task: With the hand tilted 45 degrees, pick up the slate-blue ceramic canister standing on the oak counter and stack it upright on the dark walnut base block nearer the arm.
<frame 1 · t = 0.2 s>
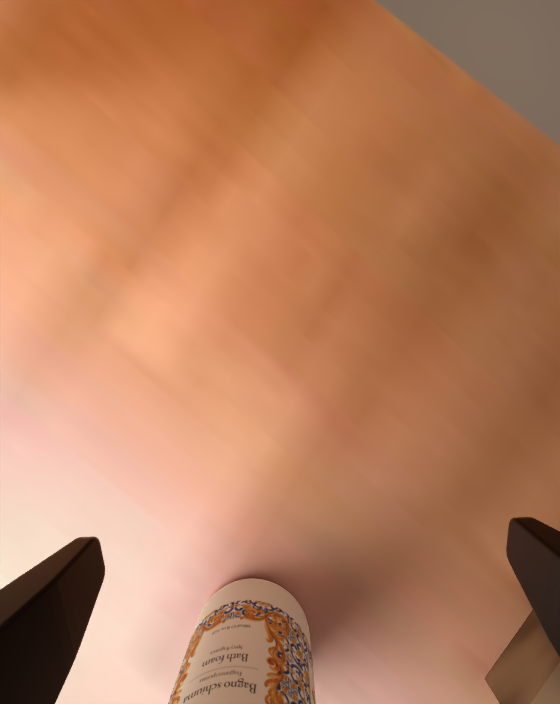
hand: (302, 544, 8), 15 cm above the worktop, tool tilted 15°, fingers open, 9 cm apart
bath foam: (253, 628, 24), on the worktop
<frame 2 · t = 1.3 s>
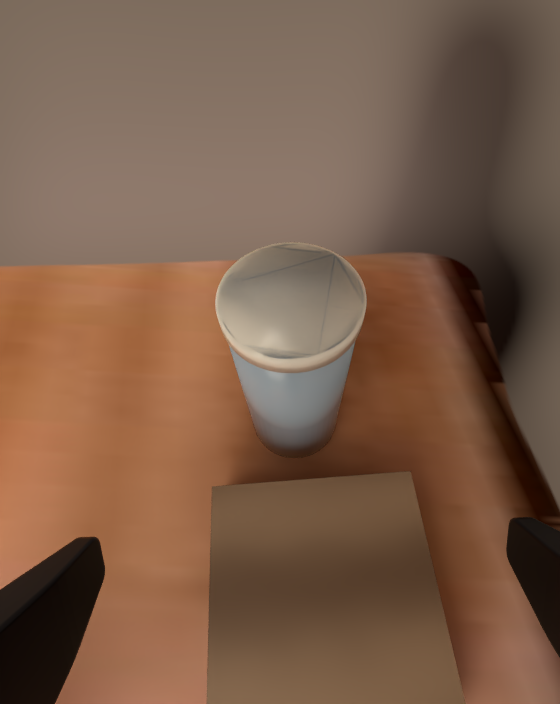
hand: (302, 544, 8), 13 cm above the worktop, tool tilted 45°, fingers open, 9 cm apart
canister: (294, 416, 24), on the worktop
base block: (320, 594, 19), on the worktop
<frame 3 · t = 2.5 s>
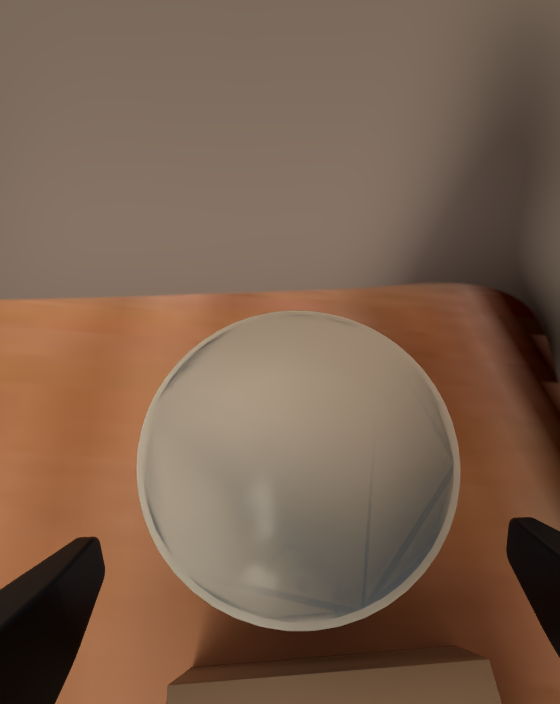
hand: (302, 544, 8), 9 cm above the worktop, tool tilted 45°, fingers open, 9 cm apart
canister: (298, 527, 17), on the worktop
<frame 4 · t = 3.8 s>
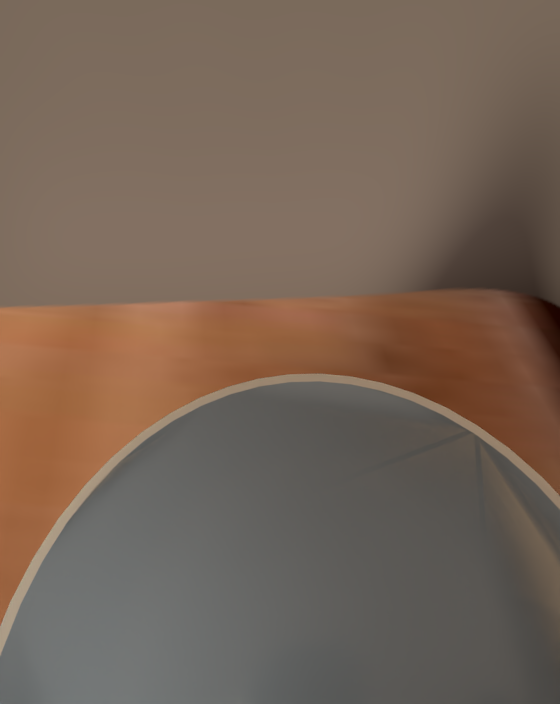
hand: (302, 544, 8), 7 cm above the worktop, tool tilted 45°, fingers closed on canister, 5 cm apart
canister: (304, 603, 13), on the worktop, touching gripper
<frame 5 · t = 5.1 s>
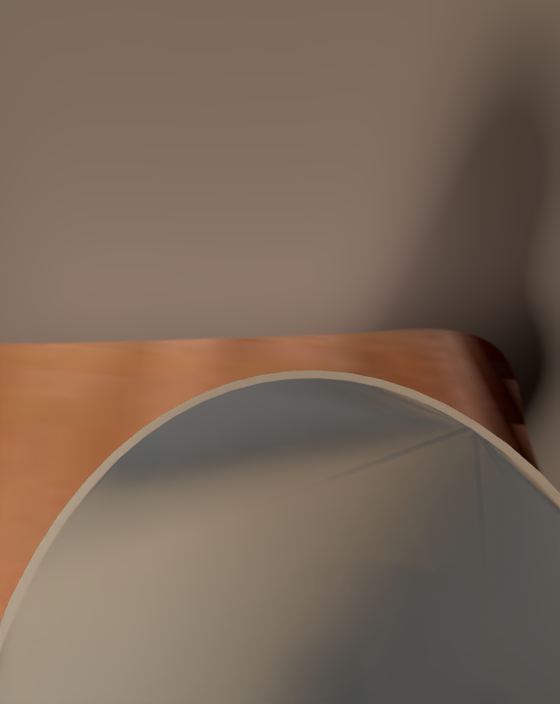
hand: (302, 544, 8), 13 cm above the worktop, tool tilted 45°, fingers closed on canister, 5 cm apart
canister: (303, 602, 13), point 7 cm above the worktop, touching gripper
when the fingers open (10 cm above the worktop, at t = 6.7 s): canister stays where it is, resting on base block.
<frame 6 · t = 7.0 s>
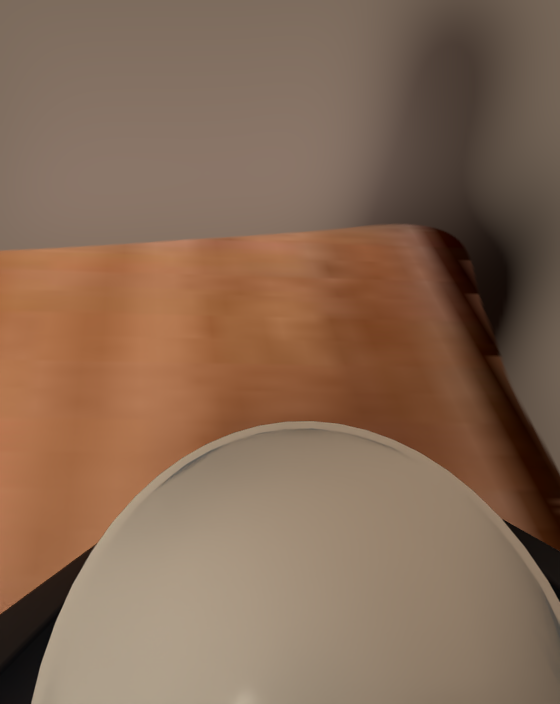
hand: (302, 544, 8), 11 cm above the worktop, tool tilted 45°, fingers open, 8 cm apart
canister: (304, 604, 14), point 3 cm above the worktop, touching base block
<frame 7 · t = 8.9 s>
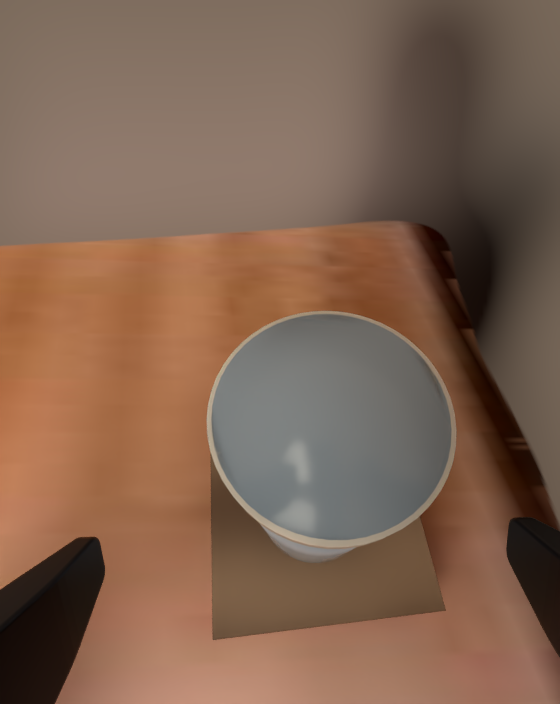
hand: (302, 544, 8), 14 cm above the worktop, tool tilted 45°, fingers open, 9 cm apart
canister: (312, 502, 19), point 3 cm above the worktop, touching base block
base block: (310, 510, 21), on the worktop
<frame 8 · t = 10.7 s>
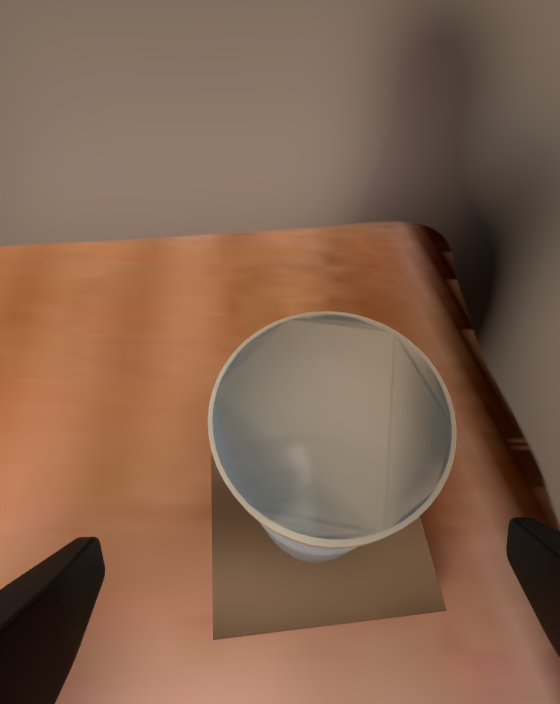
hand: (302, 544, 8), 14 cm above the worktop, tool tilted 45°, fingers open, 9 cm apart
canister: (313, 502, 19), point 3 cm above the worktop, touching base block
base block: (311, 510, 21), on the worktop
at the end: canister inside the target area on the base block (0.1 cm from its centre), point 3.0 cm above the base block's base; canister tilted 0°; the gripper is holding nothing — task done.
